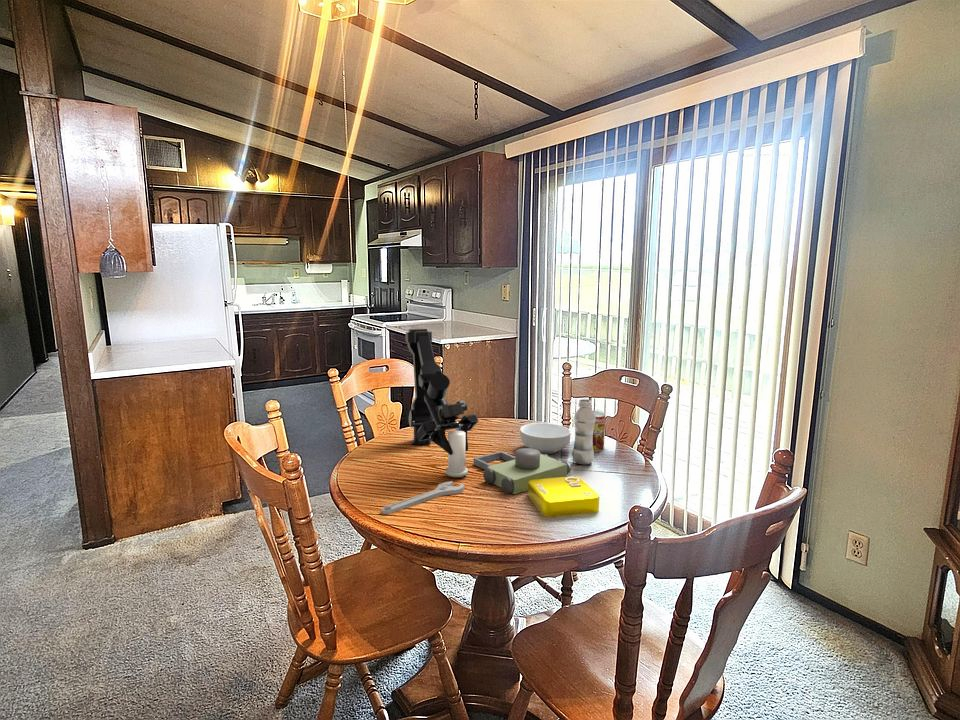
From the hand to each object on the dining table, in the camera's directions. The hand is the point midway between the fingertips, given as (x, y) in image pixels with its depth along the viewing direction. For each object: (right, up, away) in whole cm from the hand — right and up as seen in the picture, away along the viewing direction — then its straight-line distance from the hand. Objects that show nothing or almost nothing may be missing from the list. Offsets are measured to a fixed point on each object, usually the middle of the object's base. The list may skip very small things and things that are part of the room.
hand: (459, 452), depth 156 cm
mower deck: (+16, -7, +5) cm, 18 cm away
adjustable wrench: (-9, -10, -13) cm, 19 cm away
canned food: (+44, -3, +28) cm, 52 cm away
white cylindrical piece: (-1, -6, +2) cm, 7 cm away
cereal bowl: (+27, -4, +26) cm, 38 cm away
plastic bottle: (+38, -6, +13) cm, 40 cm away
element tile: (+27, -11, -15) cm, 33 cm away
